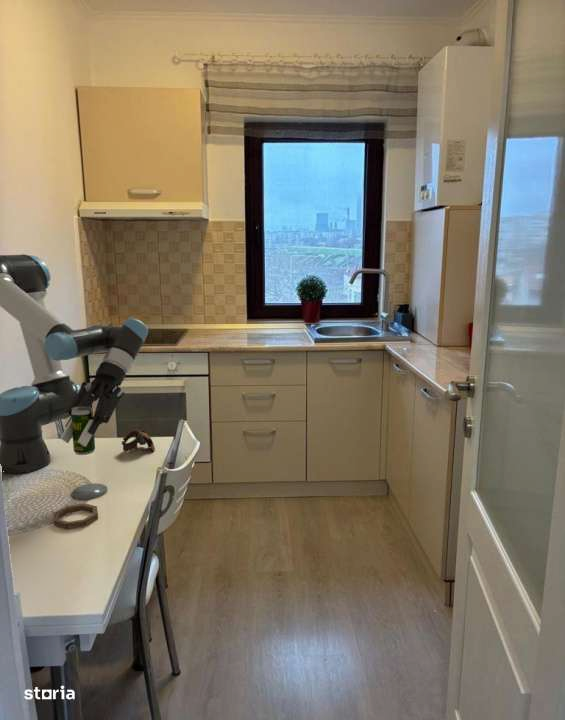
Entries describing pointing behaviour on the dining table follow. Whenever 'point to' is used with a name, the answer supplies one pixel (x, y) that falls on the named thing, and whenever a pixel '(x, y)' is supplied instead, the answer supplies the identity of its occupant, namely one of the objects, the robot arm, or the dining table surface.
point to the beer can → (81, 429)
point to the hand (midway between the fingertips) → (72, 442)
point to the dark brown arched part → (137, 440)
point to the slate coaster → (89, 491)
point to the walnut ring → (77, 523)
